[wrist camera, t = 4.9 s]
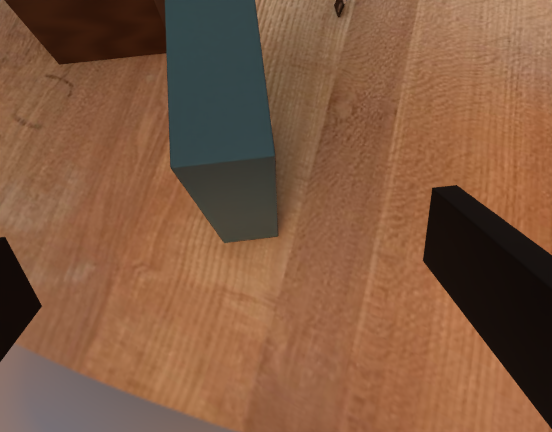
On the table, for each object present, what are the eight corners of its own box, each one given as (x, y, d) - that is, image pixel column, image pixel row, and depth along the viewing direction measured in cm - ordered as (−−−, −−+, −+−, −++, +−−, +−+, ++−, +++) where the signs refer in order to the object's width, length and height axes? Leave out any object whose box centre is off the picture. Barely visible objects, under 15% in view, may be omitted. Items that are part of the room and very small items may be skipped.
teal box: (221, 243, 26) (165, 168, 13) (213, 134, 28) (160, -14, 16) (278, 236, 26) (275, 156, 13) (264, 128, 28) (251, -23, 16)
